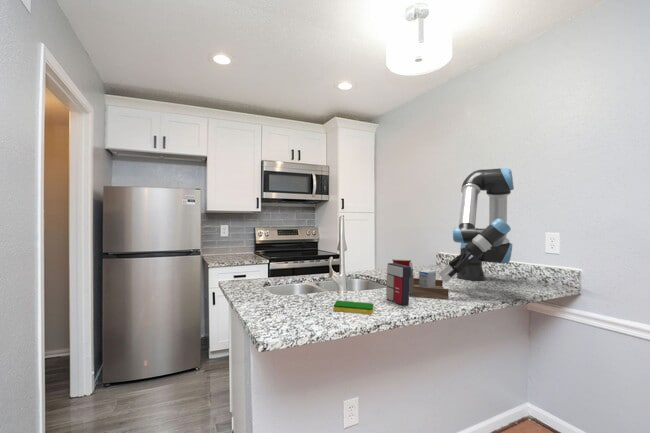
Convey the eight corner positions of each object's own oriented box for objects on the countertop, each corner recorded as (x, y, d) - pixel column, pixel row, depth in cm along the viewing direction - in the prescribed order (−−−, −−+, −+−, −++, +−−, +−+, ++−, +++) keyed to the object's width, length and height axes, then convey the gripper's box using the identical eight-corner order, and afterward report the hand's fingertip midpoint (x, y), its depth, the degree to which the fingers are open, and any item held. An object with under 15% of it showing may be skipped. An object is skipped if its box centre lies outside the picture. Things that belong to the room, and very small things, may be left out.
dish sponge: (336, 306, 116) (337, 300, 116) (373, 309, 113) (373, 303, 113) (333, 311, 109) (333, 305, 109) (372, 315, 106) (372, 308, 106)
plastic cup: (409, 278, 176) (409, 257, 176) (412, 282, 165) (413, 260, 165) (390, 277, 177) (390, 257, 177) (392, 281, 166) (393, 259, 166)
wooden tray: (408, 285, 155) (409, 262, 155) (442, 288, 151) (442, 264, 151) (409, 295, 134) (410, 268, 134) (448, 299, 130) (448, 271, 130)
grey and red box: (384, 298, 128) (385, 263, 128) (393, 298, 129) (394, 262, 130) (401, 305, 118) (402, 267, 118) (410, 304, 119) (411, 266, 120)
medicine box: (426, 287, 147) (427, 269, 147) (435, 289, 143) (436, 270, 144) (418, 289, 141) (419, 271, 141) (427, 291, 138) (428, 272, 138)
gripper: (491, 255, 124) (451, 289, 128) (478, 250, 148) (444, 279, 152) (477, 242, 126) (438, 276, 129) (466, 239, 150) (433, 267, 154)
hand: (441, 277), depth 141 cm, fingers open, 13 cm apart
